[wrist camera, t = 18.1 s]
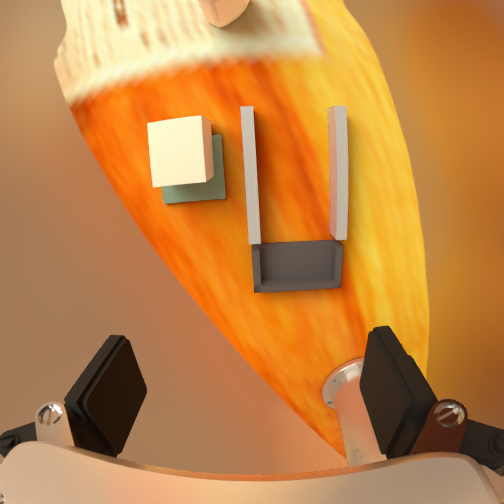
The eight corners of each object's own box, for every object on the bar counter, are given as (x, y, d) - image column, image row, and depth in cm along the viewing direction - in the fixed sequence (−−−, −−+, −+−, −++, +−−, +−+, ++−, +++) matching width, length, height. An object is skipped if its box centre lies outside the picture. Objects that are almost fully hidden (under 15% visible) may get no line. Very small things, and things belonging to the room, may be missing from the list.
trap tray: (335, 278, 35) (340, 287, 32) (254, 282, 35) (254, 292, 33) (337, 239, 33) (343, 246, 31) (252, 243, 33) (251, 251, 31)
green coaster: (226, 197, 31) (225, 198, 31) (165, 202, 32) (164, 203, 31) (221, 134, 29) (221, 134, 28) (159, 141, 29) (157, 141, 29)
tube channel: (339, 231, 33) (346, 239, 30) (249, 235, 33) (249, 244, 30) (337, 109, 28) (346, 106, 25) (241, 110, 28) (240, 106, 25)
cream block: (214, 175, 30) (205, 182, 25) (169, 179, 30) (153, 187, 25) (210, 120, 28) (201, 115, 23) (165, 126, 28) (147, 123, 23)
